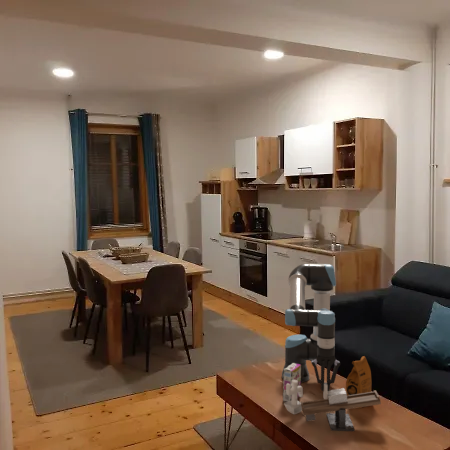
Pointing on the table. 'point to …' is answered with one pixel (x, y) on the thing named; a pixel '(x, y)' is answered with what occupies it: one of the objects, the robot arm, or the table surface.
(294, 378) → the candy bar box
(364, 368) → the coffee package
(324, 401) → the beam
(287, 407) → the figurine
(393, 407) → the table surface
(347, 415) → the pivot stand
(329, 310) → the robot arm
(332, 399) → the block
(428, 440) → the table surface
